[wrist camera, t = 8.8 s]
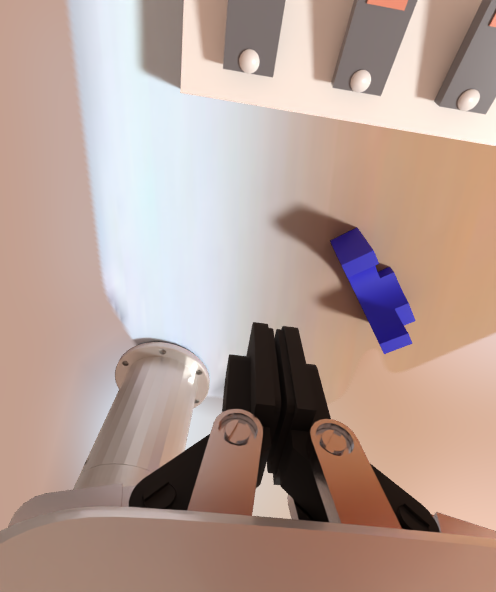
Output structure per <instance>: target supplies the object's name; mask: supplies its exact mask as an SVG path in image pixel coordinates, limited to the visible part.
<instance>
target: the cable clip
mask: <svg viewBox="0 0 496 592" xmlns="http://www.w3.org/2000/svg"><path fill="white" fill-rule="evenodd" d="M330 242H331V244H332V246H333V249H334V251H335V253H336V255H337V257H338V259H339V261H340V263H341V266H342V268H343V270H344V272H345V274H346V276H347V278H348V280H349V282H350V284H351V286H352V288H353V290H354V292H355V294H356V296H357V298H358V300H359V302H360V305H361V307H362V309H363V311H364V313H365V315H366V317H367V319H368V321H369V323H370V325H371V328H372V330H373V332H374V334H375V336H376V338H377V340H378V342H379V344H380V346H381V349H382V351H383V353H384V354H386V353H388V352H391V351H394V350H396V349H399V348H402V347H404V346H407V345H410V344H412V341H411V339H410V336H409V334H408V332H407V331H406V329H405V327H404V325H406V324H409V323H411V322H414V321H415V318H414V316H413V313H412V311H411V308H410V306H409V303H408V301H407V299H406V297H405V295H404V293H403V291H402V289H401V287H400V285H399V283H398V281H397V278H396V276H395V274H394V272H393V270H392V269H391V268H390V267H388V268H386V269H383V270H381V271H379V272H377V269H376V266H375V265H378V264H379V262H378V260H377V258H376V255H375V253H374V251H373V249H372V248H371V246H370V245H369V243H368V242H367V241H366V239H365V238H364V236H363V235H362V234H361V232H360V231H359V229H358V228H355V229H353V230H351V231H349V232H347V233H345V234H343V235H341V236H339V237H337V238H335V239H333V240H331V241H330Z"/></svg>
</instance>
